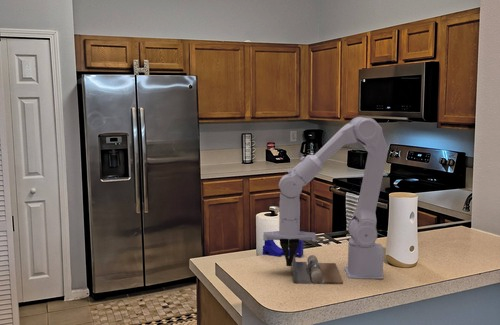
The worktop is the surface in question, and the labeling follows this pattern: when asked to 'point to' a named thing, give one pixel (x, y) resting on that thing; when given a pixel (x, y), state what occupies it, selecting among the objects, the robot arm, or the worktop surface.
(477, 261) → the worktop surface
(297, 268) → the metal hinge
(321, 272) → the fixed leaf
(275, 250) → the blue u-shaped bracket
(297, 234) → the robot arm
